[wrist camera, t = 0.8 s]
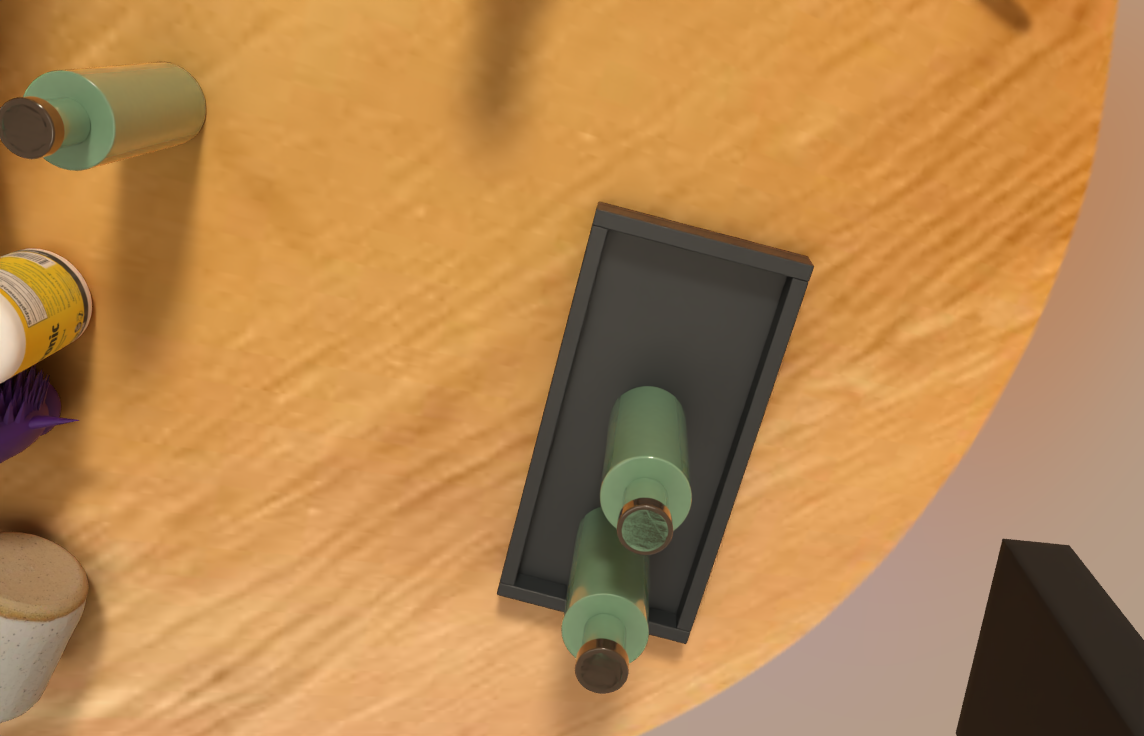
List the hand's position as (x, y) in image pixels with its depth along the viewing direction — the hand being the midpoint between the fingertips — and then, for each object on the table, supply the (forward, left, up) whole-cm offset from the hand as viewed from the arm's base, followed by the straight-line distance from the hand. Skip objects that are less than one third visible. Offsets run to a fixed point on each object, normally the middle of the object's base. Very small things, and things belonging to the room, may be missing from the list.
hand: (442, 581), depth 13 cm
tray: (+13, +6, -39) cm, 42 cm away
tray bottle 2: (+19, +6, -39) cm, 44 cm away
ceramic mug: (+32, -27, -40) cm, 58 cm away
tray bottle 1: (+12, +6, -39) cm, 41 cm away
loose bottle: (+3, -21, -39) cm, 45 cm away
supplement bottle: (+14, -26, -39) cm, 50 cm away
